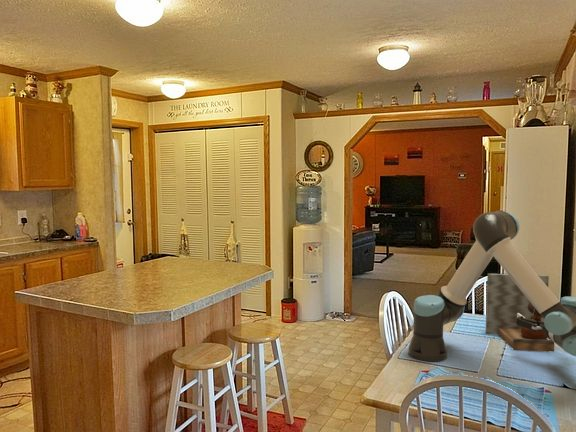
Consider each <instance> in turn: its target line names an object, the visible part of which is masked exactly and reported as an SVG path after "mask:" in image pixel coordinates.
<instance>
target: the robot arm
mask: <svg viewBox="0 0 576 432" xmlns="http://www.w3.org/2000/svg"><path fill="white" fill-rule="evenodd" d="M472 230H473V235H474V238H475V242H474V243H473V245H472V246H471V248H470V250H468V252H467V254H466V255H465V257H464V258H463V260H462V262H461V263H460V265H459V267H458V268H457V269H456V271H455V273H454V274H453V276H452V277H451V279H450V281H449V282H448V283H447V285H442V286H441V287H440V289H439V290H438V292H437V294H436V295H434V294H427V295H420V296H418V297H416V298H415V299H414V301H413V302H414V303H413V308H412V309H413V319H412V320H413V322H412V323H413V325H412V326H413V328H412V329H413V330H412V331H413V333H412V338H411V339H410V340H411V341H410V342H409V345H408V355H409V356H410V357H411V358H414V359H415V360H421V361H426V362H441V361H444V360H446V359H447V358H448V349H447V345H446V343H445V340H444V326H445V325H447V324H449V323H452V322H456V321H457V320H459V319H460V318H461V317H462V316H463V315H464V312H465V308H466V307H465V306H466V305H467V304H468V301H467V300H468V299H467V296H468V295H469V293H470V292H471V290H472V289H473V287H474V286H475V284H476V283H477V281H478V280H479V278H480V277H481V276H482V275H483V273H484V271H485V269H486V268H487V266H489V264H490V262H491V260H492V259H493V258H494V260H496V261H497V263H498V264H499V265H500V266H501V268H502V269H503V270H504V272H505V273H506V274H508V275H509V276H510V277H511V279H512V280H513V281H514V282H515V284H516V285H517V286H518V287H519V289H520V290H521V291H522V292H523V293H524V295H525V296H526V297H527V298H528V300H529V301H530V302H531V303H532V305H533V306H534V307H535V308H536V310H537V311H538V312H539V313H540V314H541V316H542V317H543V318H544V322H542V321H533V320H529V319H525V317H524V316H522V315H521V314H519V313H517V319H516V324H517V325H519V326H522V327H525V328H528V329H530V330H532V331H534V332H536V331H537V330H540V331H543V332H544V334H545V335H546V337H547V339H548V340H551V341H553V342H554V344H555V345H557V346H558V347H559V348H561V349H562V350H563V351H564V352H566V353H567V354H569V355H571V356H573V357H576V297H575V296H563V297H561V298H560V300H559V299H558V298H557V296H556V295H555V294H554V293H553V292H552V290H551V289H550V288H549V286H548V287H547V286H546V284H545V283H544V282H543V281H542V280H541V278H540V277H539V276H538V275H539V274H537V272H536V271H535V270H534V269H533V267H531V265H530V264H529V263H528V262H527V261H526V259H525V258H524V257H523V255H521V253H520V252H519V251H518V250H517V248H516V247H515V246H514V245H513V244H512V242H511V240H513V239H515V238H516V236H517V235H518V234H519V232H520V224H519V221H518V219H517V217H516V216H515V215H514V214H513V213H511V212H509V211H506V210H505V211H504V210H496V211H489V212H488V211H487V212H484V213H481V214H480V215H478V216H477V217H476V218H475V220H474V222H473V226H472ZM540 323H541V325H540Z"/></svg>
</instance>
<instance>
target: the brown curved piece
mask: <svg viewBox="0 0 576 432" xmlns="http://www.w3.org/2000/svg"><path fill="white" fill-rule="evenodd" d="M528 310H529V311H530V312H531V313H532V314H533V315H532V316H531V319H532V320H533V319H534V320H533V321H541V318H542V316H541V314H540V313H539V312H538V311H537V310H536V308H535V307H534V306H533V305H532V303H531V302H530V303H529V304H528ZM540 325H541V324H540ZM521 333H522V334H523V335H524V336H525V337H527V338H529V339H541V340H547V339H548V338H547V337H546V335H545V334H544V332H543V331H540V330H537V331H536V332H534V331H532V330H530V329H528V328H525V327H521Z"/></svg>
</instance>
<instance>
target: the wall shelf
mask: <svg viewBox="0 0 576 432" xmlns="http://www.w3.org/2000/svg"><path fill="white" fill-rule="evenodd" d="M537 275H538V276H539V277H540V278H541V280H542V281H543V282H544V283H545V284H546V286H547V287H548V288H549V281H550V277H549V275H548V274H537ZM486 280H487V281H486V283H487V284H486V306H485V310H486V312H485V334H486V335H496V336H497V335H498V336H499V337H500V338H501V339H502V340H503V341H504V342H505V343H506V344H507V345H508V346H509V347H510V348H511V349H512V348H513V349H512V350H513V351H526V350H528V352H531V351H532V352H549V351H554V352H555V343H554V342H553V341H551V340H550V339H549V338H547V340H541V339H529V338H527V337H525V336H524V335H523V334H522V333H521V327H522V326H519V325H517V324H516V319H517V313H519V314H521V315H522V316H524V317H525V319H529V320H532V319H531V316H532V315H533V314H532V313H531V312H530V311H529V310H528V304H529V303H530V301H529V300H528V298H527V297H526V296H525V295H524V293H523V292H522V291H521V290H520V289H519V287H518V286H517V285H516V284H515V282H514V281H513V280H512V279H511V277H510V276H509V275H508V274H507V273H487V278H486ZM533 320H534V319H533ZM541 321H542V322H544V318H543V317H542V318H541ZM540 324H541V323H540Z"/></svg>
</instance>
